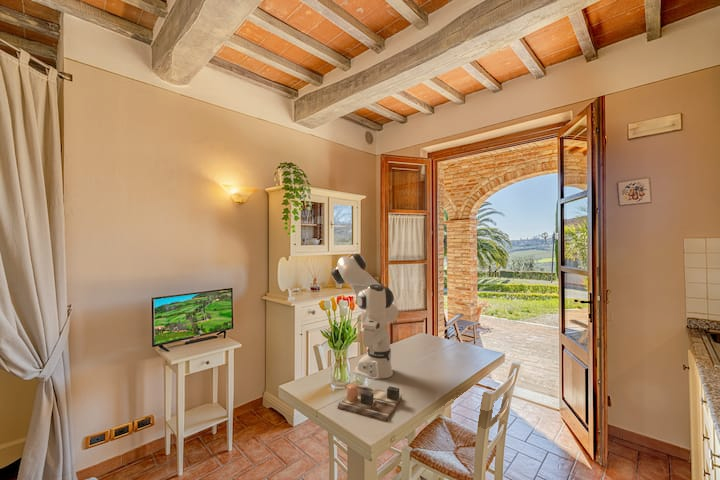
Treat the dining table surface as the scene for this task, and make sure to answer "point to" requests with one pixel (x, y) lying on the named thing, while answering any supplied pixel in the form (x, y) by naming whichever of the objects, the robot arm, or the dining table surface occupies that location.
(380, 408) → the lane board
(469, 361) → the dining table surface
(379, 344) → the robot arm
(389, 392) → the strip
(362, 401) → the strip
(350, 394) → the orange rounded piece
